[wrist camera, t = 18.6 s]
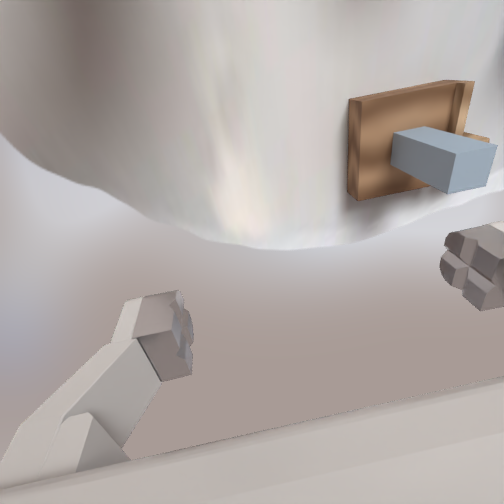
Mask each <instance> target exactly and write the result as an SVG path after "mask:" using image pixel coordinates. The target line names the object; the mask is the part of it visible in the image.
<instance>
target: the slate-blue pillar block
mask: <svg viewBox="0 0 504 504" xmlns="http://www.w3.org/2000/svg"><path fill="white" fill-rule="evenodd" d="M497 146H498V145H495V144H491V143H487V142H483V141H479V140H476V139H472V138H468V137H464V136H460V135H456V134H453V133H449V132H445V131H441V130H437V129H434V128H430V127H426V126H423V127H419V128H414V129H409V130H404V131H399V132H394V133H393V143H392V153H391V163H390V165H392V166H394V167H396V168H398V169H400V170H402V171H404V172H405V173H407V174H409V175H411V176H413V177H415V178H417V179H419V180H421V181H423V182H425V183H427V184H429V185H431V186H432V187H434V188H436V189H438V190H440V191H442V192H444V193H446V194H451V193H456V192H460V191H465V190H470V189H475V188H479V187H484V186H486V183H487V180H488V177H489V173H490V170H491V166H492V163H493V160H494V156H495V153H496V149H497Z"/></svg>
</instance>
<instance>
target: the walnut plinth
mask: <svg viewBox="0 0 504 504" xmlns="http://www.w3.org/2000/svg"><path fill="white" fill-rule="evenodd" d="M474 83H475V81H457V80H442V81H437V82H432V83H427V84H422V85H417V86H412V87H407V88H402V89H397V90H392V91H387V92H382V93H377V94H372V95H367V96H362V97H356V98H351V99H349V135H348V183H347V192H348V193H349V194H350V195H351V196H352V197H354V198H355V199H356V200H357V201H361V200H366V199H371V198H375V197H380V196H385V195H390V194H395V193H399V192H404V191H409V190H414V189H419V188H423V187H428V186H431V185H429V184H427V183H425V182H423V181H421V180H419V179H417V178H415V177H413V176H411V175H409V174H407V173H405V172H404V171H402V170H400V169H398V168H396V167H394V166H392V165H390V163H391V153H392V143H393V133H394V132H399V131H404V130H409V129H414V128H419V127H423V126H426V127H430V128H434V129H437V130H441V131H445V132H449V133H453V134H456V135H460V136H463V132H464V127H465V123H466V118H467V114H468V109H469V105H470V101H471V96H472V92H473V87H474Z"/></svg>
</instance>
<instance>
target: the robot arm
mask: <svg viewBox="0 0 504 504" xmlns="http://www.w3.org/2000/svg"><path fill="white" fill-rule="evenodd" d="M444 246H445V247H446V248H447V251H446V252H445V253H444V254H443V256H442V257H441V261H440V270H441V274H442V276H443V277H444V279H445V281H447V282H448V283H449V284H450V285H451V286H453V287H456V288H458V289H461V290H462V295H463V297H465V298H466V299H467V300H468V301H469V302H470V303H471V304H472V305H474V306H475V307H476V308H477V309H478V310H479V311H483V310H489V309H495V308H500V307H504V221H498V222H494V223H489V224H486V225H482V226H479V227H474V228H470V229H465V230H460V231H456V232H451V233H449V234H448V236H447V237H446V239H445V244H444ZM193 335H194V334H193V325H192V321H191V317H190V314H189V312H188V311H187V310H186V309H184V299H183V296H182V294H181V292H180V291H179V290H176V291H171V292H165V293H160V294H154V295H149V296H145V297H139V298H134V299H130V300H127V301H126V302H125V303H124V305H123V308H122V311H121V314H120V316H119V319H118V322H117V325H116V328H115V331H114V333H113V336H112V339H111V342H110V344H107V345H104V346H103V347H102V348H101V349H100V350H99V351H98V352H96V353H95V354H94V355H93V357H91V358H90V359H89V360H88V361H87V362H86V363H85V364H84V365H83V366H82V367H81V368H80V369H79V370H78V371H77V372H75V373H74V374H73V375H72V376H71V377H70V378H69V379H68V380H67V381H66V382H65V383H64V384H63V385H62V386H61V387H60V388H59V389H58V390H57V391H56V392H54V393H53V394H52V395H51V396H50V397H49V398H48V399H47V400H46V401H45V402H44V403H43V404H42V405H41V406H40V407H39V408H38V409H37V410H36V411H35V412H34V413H32V414H31V415H30V416H29V417H28V418H27V419H26V420H25V421H24V422H23V423H22V424H21V425H20V426H19V428H18V430H17V432H16V434H15V436H14V437H13V439H12V441H11V444H10V445H9V447H8V449H7V451H6V453H5V455H4V456H3V458H2V460H1V462H0V504H504V376H502V377H497V378H493V379H488V380H484V381H479V382H475V383H471V384H466V385H462V386H457V387H453V388H449V389H444V390H440V391H435V392H432V393H427V394H422V395H418V396H413V397H409V398H404V399H400V400H396V401H392V402H387V403H382V404H378V405H374V406H369V407H365V408H361V409H357V410H352V411H347V412H343V413H338V414H334V415H330V416H325V417H321V418H316V419H312V420H307V421H303V422H299V423H294V424H290V425H286V426H281V427H277V428H272V429H268V430H263V431H259V432H254V433H250V434H246V435H241V436H237V437H233V438H228V439H223V440H219V441H215V442H210V443H206V444H201V445H197V446H193V447H188V448H184V449H179V450H175V451H171V452H166V453H162V454H157V455H153V456H148V457H144V458H139V459H135V460H131V459H130V458H129V457H128V456H127V455H126V454H125V453H124V451H123V450H122V447H123V446H124V444H125V442H126V441H127V439H128V438H129V436H130V434H131V433H132V431H133V430H134V428H135V426H136V425H137V423H138V422H139V420H140V418H141V417H142V415H143V413H144V412H145V410H146V408H147V407H148V405H149V404H150V402H151V401H152V399H153V397H154V396H155V394H156V393H157V391H158V389H159V388H160V386H161V384H162V383H161V382H164V381H168V380H172V379H176V378H180V377H184V376H188V375H191V374H192V359H193V354H192V351H191V349H190V346H191V344H192V343H193Z"/></svg>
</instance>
